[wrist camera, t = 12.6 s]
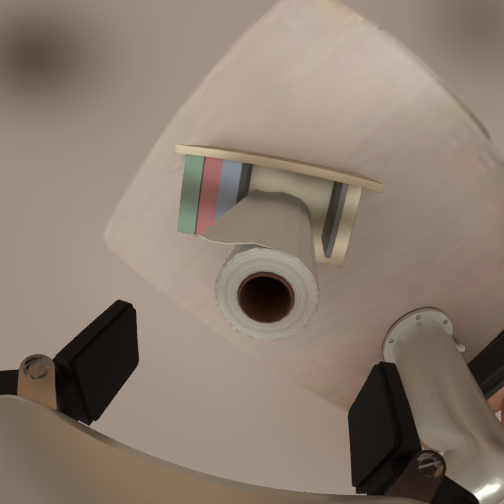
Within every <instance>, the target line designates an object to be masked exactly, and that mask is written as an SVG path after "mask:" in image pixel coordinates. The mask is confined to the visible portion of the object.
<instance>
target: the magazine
mask: <svg viewBox="0 0 504 504" xmlns="http://www.w3.org/2000/svg"><path fill="white" fill-rule="evenodd" d="M467 366H468V368H469V369H470V371H471V373H472V375H473V376H474V378H475V380H476V382H477V384H478V385H479V387H480V389H481V391H482V393H483V394H484V396H485V398H486V400H488V399H489V398H490V397H492V396H493V395H494V394H495V393H497V392H498V391H499V390H500V389H502V388H503V387H504V334H502V335H501V336H500V337H499V338H498V339H496V340H495V341H494V342H493V343H492V344H490V345H489V346H488V347H487V348H485V349H484V350H483V351H482V352H481V353H480V354H478V355H477V356H476V357H475V358H474V359H473V360H472V361H471V362H470V363H468V364H467Z"/></svg>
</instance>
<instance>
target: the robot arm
mask: <svg viewBox="0 0 504 504" xmlns="http://www.w3.org/2000/svg"><path fill="white" fill-rule="evenodd" d="M452 337H453V327H452V323H451V321H450V319H449V318H448V317H447V315H446V314H445V313H443V312H442V311H440V310H438V309H434V308H423V309H418V310H416V311H413V312H410V313H409V314H407V315H405V316H404V317H402V318H401V319H400V320H398V321H397V322H396V323H395V324H394V325H393V326H392V328H391V329H390V330H389V332H388V334H387V336H386V337H385V340H384V343H383V356H384V359H385V362H383V361H381V362H380V363H379V364H378V365H377V364H376V365H374V367H373V369H372V370H371V372H370V374H369V376H368V378H367V380H366V382H365V384H364V385H363V387H362V389H361V391H360V393H359V394H358V396H357V398H356V400H355V401H354V403H353V405H352V406H351V408H350V410H349V413H348V424H349V438H350V453H351V474H352V486H353V487H356V493H357V494H360V493H361V494H365V493H366V494H367V495H334V494H320V493H319V494H318V493H307V492H298V491H289V490H282V489H275V488H269V487H263V486H257V485H252V484H247V483H242V482H237V481H233V480H228V479H224V478H220V477H216V476H213V475H209V474H205V473H202V472H198V471H195V470H192V469H189V468H185V467H182V466H179V465H176V464H173V463H170V462H168V461H165V460H162V459H159V458H156V457H154V456H151V455H149V454H146V453H144V452H141V451H139V450H136V449H134V448H132V447H129V446H127V445H125V444H122V443H120V442H118V441H116V440H114V439H112V438H110V437H108V436H105V435H103V434H101V433H99V432H97V431H95V430H93V429H91V428H89V427H87V426H85V425H83V424H82V423H80V422H78V421H79V420H80V421H81V422H83V423H85V424H87V425H88V426H89V425H90V424H91V423H92V422H93V420H94V421H97V420H98V419H99V418H100V416H101V415H102V413H103V412H104V411H105V409H106V407H108V405H109V404H110V402H111V401H112V400H113V398H114V397H115V395H116V394H117V393H118V391H119V390H120V389H121V387H122V386H123V385H124V383H125V382H126V381H127V379H128V378H129V377H130V375H131V374H132V373H133V371H134V370H135V368H136V367H137V365H138V362H139V354H138V340H137V322H136V310H135V309H134V308H133V305H132V304H131V303H128V302H125V301H122V300H117V301H116V302H114V303H113V304H112V305H111V306H110V307H109V308H108V309H107V310H106V311H104V312H103V313H102V314H101V315H100V316H99V317H97V318H96V319H95V320H94V321H93V322H92V323H91V324H89V325H88V326H87V327H86V328H85V329H84V330H83V331H82V332H81V333H79V334H78V335H77V336H76V337H75V338H74V339H73V340H72V341H71V342H70V343H68V344H67V345H66V346H65V347H64V348H63V349H62V350H61V351H60V352H59V353H58V354H57V355H56V357H55V358H54V359H53V360H52V359H51V358H49V357H48V356H45V355H42V354H35V355H31V356H28V357H27V358H25V359H24V360H23V361H22V363H21V364H20V368H19V369H18V370H6V371H0V504H498V503H499V502H500V501H502V500H503V499H504V427H503V426H502V424H501V423H500V421H499V420H498V418H497V417H496V415H495V414H494V412H493V410H492V409H491V407H490V405H489V403H488V402H487V400H486V398H485V396H484V394H483V393H482V391H481V389H480V387H479V385H478V384H477V382H476V380H475V378H474V376H473V375H472V373H471V371H470V369H469V368H468V366H467V364H466V363H465V361H464V357H463V356H461V354H460V353H463V352H464V351H465V345H460V344H458V345H457V344H456V343H455V341H454V339H453V338H452ZM399 374H400V376H399ZM400 377H401V379H400ZM401 380H402V382H401ZM402 383H403V385H402ZM403 386H404V388H403ZM404 389H405V391H404ZM405 392H406V395H405ZM406 396H407V398H406ZM418 435H419V436H418ZM419 437H420V439H421V440H422V441H423V442H424V443H425V444H426V445H428V446H429V447H431V448H433V449H436V450H439V451H442V452H445V453H444V455H443V456H441V455H440V454H439V453H438V452H436V451H433V450H428V449H427V450H422V448H421V444H420V440H419Z"/></svg>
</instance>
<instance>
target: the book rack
mask: <svg viewBox="0 0 504 504" xmlns="http://www.w3.org/2000/svg"><path fill="white" fill-rule="evenodd" d="M175 153H181V154H186V159H185V167H184V175H183V183H182V191H181V200H180V210H179V220H178V231H177V232H182V233H187V234H192V235H193V236H197V237H199V235H200V234H201V233H202V232H203V231H204V230H206V229H207V228H208V227H209V226H210V225H212V224H213V223H214V222H215V221H216V220H218V219H219V218H220V217H221V216H223V215H224V214H225V213H226V212H227V211H229V210H230V209H231V208H232V207H234V206H235V205H236V204H237V203H239V202H240V201H241V200H242V199H244V198H245V197H246V196H247V195H249V194H250V193H251V192H252V191H254V190H255V189H258V190H260V191H265V192H280V191H281V192H284V193H287V194H290V195H293V196H295V197H298V198H300V199H301V200H302V201H303V202H304V203H305V204H306V205H307V207H308V210H309V213H310V216H311V224H312V232H313V240H314V248H315V257H316V262H319V263H323V264H328V265H333V266H337V267H342V264H343V261H344V257H345V254H346V250H347V247H348V243H349V239H350V236H351V232H352V228H353V224H354V220H355V216H356V212H357V208H358V204H359V200H360V195H361V191H362V188H366V189H369V190H373V191H377V192H380V193H383V189H384V184H381V183H379V182H376V181H374V180H371V179H369V178H366V177H364V176H361V175H357V174H353V173H349V172H345V171H341V170H337V169H333V168H328V167H324V166H320V165H315V164H311V163H306V162H301V161H296V160H291V159H286V158H281V157H276V156H270V155H265V154H259V153H253V152H247V151H241V150H234V149H228V148H220V147H213V146H200V145H176V150H175ZM235 245H237V244H235Z"/></svg>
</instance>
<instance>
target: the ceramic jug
mask: <svg viewBox="0 0 504 504" xmlns="http://www.w3.org/2000/svg"><path fill="white" fill-rule="evenodd" d="M487 402H488V403H489V405H490V407H491V409H492V410H493V412H494V411H499V410H501V424H502V426H503V427H504V387H503V388H502V389H500V390H499V391H498V392H497V393H495V394H494V395H493V396H492V397H490V398H489V399H488V400H487Z"/></svg>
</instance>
